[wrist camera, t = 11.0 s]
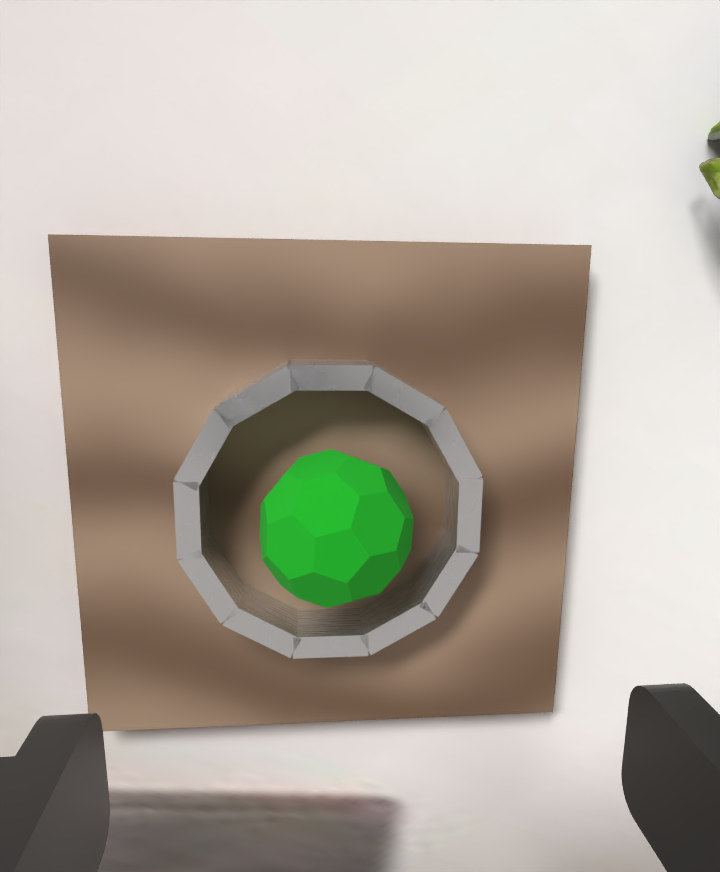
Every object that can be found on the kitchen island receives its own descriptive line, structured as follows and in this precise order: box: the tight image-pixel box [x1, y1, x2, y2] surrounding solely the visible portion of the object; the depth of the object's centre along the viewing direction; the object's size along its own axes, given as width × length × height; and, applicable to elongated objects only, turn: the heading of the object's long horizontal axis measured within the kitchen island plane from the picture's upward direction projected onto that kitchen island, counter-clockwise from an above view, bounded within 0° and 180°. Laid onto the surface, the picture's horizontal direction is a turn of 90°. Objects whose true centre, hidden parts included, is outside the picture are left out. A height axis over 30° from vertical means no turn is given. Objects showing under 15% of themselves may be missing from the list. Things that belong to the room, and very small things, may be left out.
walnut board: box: [48, 234, 592, 731], centre depth 24 cm, size 18×18×2 cm
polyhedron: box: [259, 449, 414, 608], centre depth 21 cm, size 5×5×5 cm
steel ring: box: [173, 359, 483, 659], centre depth 22 cm, size 10×10×2 cm
